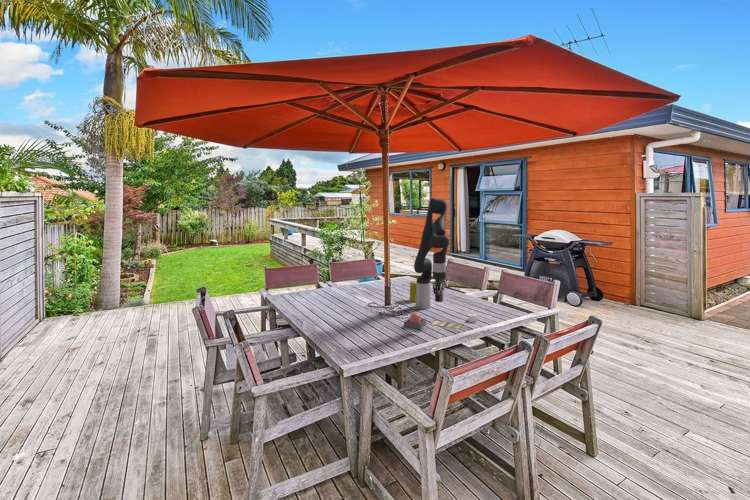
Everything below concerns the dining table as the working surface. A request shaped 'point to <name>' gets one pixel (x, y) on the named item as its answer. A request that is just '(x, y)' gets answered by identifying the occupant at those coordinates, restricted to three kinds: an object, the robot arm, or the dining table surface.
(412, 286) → the food
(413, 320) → the dome
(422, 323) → the dome collar
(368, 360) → the dining table surface
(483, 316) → the dining table surface
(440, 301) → the pawn
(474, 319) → the die
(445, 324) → the board
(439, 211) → the robot arm
